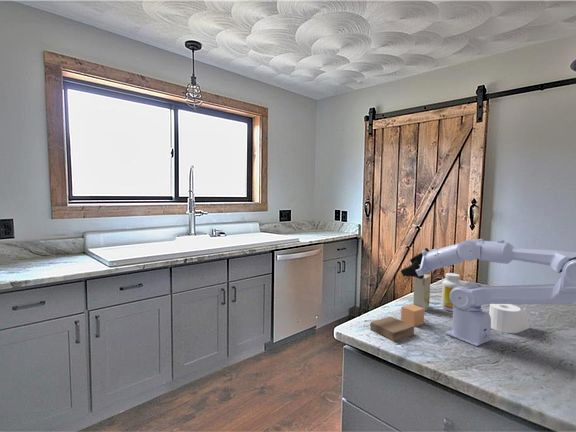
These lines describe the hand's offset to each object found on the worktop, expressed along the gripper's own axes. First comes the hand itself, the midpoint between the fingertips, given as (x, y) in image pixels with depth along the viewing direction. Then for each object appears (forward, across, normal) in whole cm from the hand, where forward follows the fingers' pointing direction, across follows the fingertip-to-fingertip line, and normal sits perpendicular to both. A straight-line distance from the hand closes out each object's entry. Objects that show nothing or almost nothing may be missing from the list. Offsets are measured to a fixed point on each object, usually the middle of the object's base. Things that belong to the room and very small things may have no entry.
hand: (407, 267), depth 112 cm
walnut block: (+2, +21, +11) cm, 24 cm away
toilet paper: (-17, -6, +31) cm, 36 cm away
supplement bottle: (+2, -11, +24) cm, 27 cm away
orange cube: (+3, +10, +15) cm, 18 cm away
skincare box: (+8, -4, +18) cm, 20 cm away
